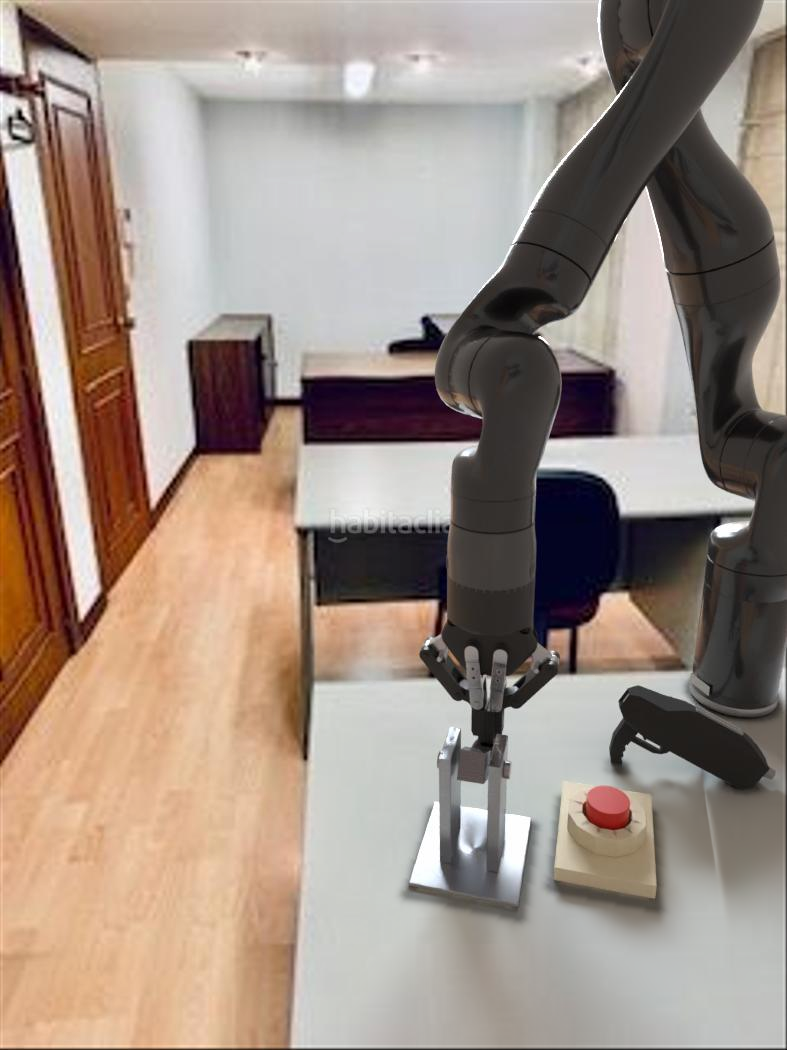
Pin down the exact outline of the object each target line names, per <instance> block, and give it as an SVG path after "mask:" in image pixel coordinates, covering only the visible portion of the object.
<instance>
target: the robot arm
mask: <svg viewBox="0 0 787 1050" xmlns="http://www.w3.org/2000/svg"><path fill="white" fill-rule="evenodd" d="M764 3H765V0H599V3H598V11H597V12H598V14H597V15H598V17H597V23H598V35H599V42H600V46H601V51H602V54H603V59H604V62H605V65H606V70H607V72H608V75H609V78H610V82H611V84H612V87H613V90H614V93H615V96H616V97H615V99H614V100H613V102H612V103H611V104H610V106H609V107H608V108H607V109H606V110H605V111H604V112H603V113H602V115H601V117H599V119H598V120H597V121H596V122H595V123H594V124H593V125H592V127H591V128H590V129H589V130H588V131H587V132H586V133H585V134H584V135H583V137H582V138H581V139H580V140H579V141H578V142H577V143H576V145H574V146H573V147H572V149H571V150H570V151H569V152H568V153H567V155H566V156H564V158H563V159H562V160H561V162H559V164H558V165H557V166H556V168H555V169H554V170H553V172H551V174H550V176H549V177H548V178H547V179H546V181H545V183H544V184H543V185H542V187H541V189H540V190H539V192H538V193H537V194H536V197H535V198H534V200H533V202H532V203H531V205H530V206H529V209H528V211H527V213H526V214H525V217H524V219H523V221H522V223H521V224H520V227H519V229H518V231H517V232H516V235H515V236H514V239H513V241H512V242H511V245H510V246H509V249H508V251H507V253H506V255H505V257H504V259H503V261H502V263H501V265H500V267H499V268H498V269H497V270H496V271H495V273H494V274H493V275H492V276H491V277H490V278H489V279H488V280H487V281H486V282H485V283H484V285H483V286H482V287H481V288H480V289H479V291H478V292H477V293H476V294H475V295H474V297H473V298H472V299H471V301H470V302H469V303H468V304H467V306H466V307H465V308H464V309H463V310H462V312H461V313H460V315H459V316H458V317H456V319H455V321H454V322H453V324H452V325H451V327H450V328H449V330H448V332H447V333H446V335H445V337H444V338H443V340H442V343H441V345H440V347H439V349H438V353H437V356H436V360H435V365H434V383H435V388H436V391H437V394H438V396H439V398H440V400H441V401H442V402H443V403H444V404H445V405H446V406H447V407H449V408H450V409H451V410H454V411H456V412H459V413H461V414H463V415H466V416H467V415H468V416H471V417H474V418H477V419H481V420H482V426H481V432H480V437H479V441H478V444H477V445H472V446H468V447H466V448H463V449H462V450H461V451H459V452H458V453H457V454H456V456H455V457H454V458H453V460H452V463H451V469H450V480H449V481H450V489H449V490H450V495H449V496H450V497H449V498H450V499H449V500H450V501H449V502H450V503H449V505H450V506H449V510H450V514H449V516H450V517H449V529H448V536H447V544H446V556H445V568H446V621H445V623H444V625H443V628H442V630H441V633H440V634H439V635H437V636H435V637H434V636H429V637H427V638H426V639H425V640H424V642H423V644H422V645H421V648H420V651H419V654H418V657H419V659H420V660H421V661H422V662H423V663H424V665H425V666H426V667H427V669H428V670H429V671H430V672H431V673H432V676H434V677H435V678H436V680H437V682H438V683H439V684H440V685H441V686H442V687H443V689H444V690H445V691H446V692H447V694H448V695H449V696H450V697H451V699H452V700H453V701H455V702H461V701H464V702H466V703H468V705H469V706H470V708H471V720H470V724H471V725H470V727H471V728H470V731H471V733H472V736H475V737H477V739H478V742H482V743H488V744H494V741H495V738H496V734H501V735H503V732H504V727H505V709H508V708H512V709H514V710H518V709H520V708H522V707H523V706H524V705H525V704H526V703H527V702H528V701H530V699H532V698H533V697H534V696H535V695H536V694H537V693H539V692H540V690H541V689H543V688H544V687H545V686H546V685H547V684H548V683H549V682H550V681H552V680H553V679H554V678H555V677H556V676H557V675H558V673H559V668H560V662H561V655H560V653H559V652H558V651H556V650H547V649H546V648H545V647H544V646H543V645H541V643H539V634H538V632H537V630H536V629H535V625H534V613H535V611H534V610H535V594H536V593H535V591H536V590H535V589H536V570H537V536H536V521H535V519H536V503H537V502H536V501H537V475H538V471H539V467H540V465H541V462H542V461H543V457H544V455H545V452H546V448H547V445H548V441H549V438H550V434H551V431H552V429H553V425H554V423H555V419H556V415H557V412H558V409H559V406H560V403H561V395H562V385H563V382H562V372H561V368H560V367H561V366H560V362H559V360H558V357H557V355H556V352H555V351H554V349H553V347H552V346H551V345H550V344H549V343H548V342H547V341H546V340H545V339H544V338H543V337H541V336H539V335H536V333H537V332H538V331H539V330H540V329H541V328H543V327H544V326H546V325H548V324H551V323H554V322H560V321H563V320H566V319H568V318H570V317H572V316H573V315H574V314H575V313H577V312H578V310H579V309H580V307H582V304H583V303H584V301H585V299H586V298H587V296H588V295H589V292H590V290H591V288H592V287H593V284H594V282H595V280H596V278H597V277H598V275H599V273H600V270H601V269H602V267H603V265H604V263H605V261H606V259H607V257H608V255H609V254H610V251H611V249H612V247H613V245H614V244H615V241H616V239H617V237H618V235H619V233H620V232H621V229H622V228H623V227H624V224H625V222H626V220H627V219H628V217H629V215H630V214H631V212H632V210H633V208H634V207H635V205H636V204H637V202H638V200H639V198H640V197H641V195H642V193H643V192H644V190H645V189H646V192H647V195H648V199H649V202H650V206H651V210H652V214H653V218H654V222H655V225H656V230H657V233H658V238H659V244H660V249H661V254H662V260H663V265H664V268H665V273H666V277H667V281H668V284H669V291H670V294H671V299H672V301H673V302H672V303H673V305H674V306H673V307H674V309H675V313H676V316H677V319H678V323H679V327H680V332H681V337H682V341H683V347H684V351H685V356H686V361H687V367H688V372H689V376H690V380H691V386H692V393H693V394H692V395H693V400H694V410H695V419H696V428H697V429H696V430H697V435H698V436H697V437H698V446H699V452H700V458H701V463H702V466H703V470H704V472H705V474H706V476H707V478H708V479H709V481H710V482H711V483H712V484H713V485H714V486H715V487H717V488H719V489H720V490H722V491H724V492H727V493H729V494H732V495H735V496H737V497H741V498H743V499H744V498H745V499H747V500H750V501H753V502H754V505H753V509H752V513H751V516H750V520H743V521H742V520H741V521H734V522H727V523H724V524H720V525H719V526H716V527H715V528H714V529H713V530H712V531H711V533H710V536H709V539H708V545H707V554H706V562H705V563H706V564H705V570H704V571H705V572H704V579H703V586H702V587H703V588H702V595H701V602H700V610H699V616H698V617H699V619H698V626H697V633H696V640H695V641H696V642H695V649H694V656H693V664H692V670H691V671H692V672H690V677H689V692H690V694H691V695H692V697H693V698H694V699H695V700H696V701H698V702H699V703H700V704H701V705H703V706H705V707H706V708H708V709H711V710H712V711H714V712H717V713H720V714H724V715H728V716H732V717H737V718H759V717H763V716H767V715H769V714H770V713H772V712H773V711H775V710H776V708H777V706H778V703H779V701H778V700H779V690H780V685H781V678H782V673H783V669H784V662H785V657H786V650H787V414H783V413H778V412H774V411H773V412H772V411H768V410H764V409H763V408H762V407H761V405H760V403H759V400H758V396H757V393H756V388H755V383H754V382H755V381H754V375H753V361H754V356H755V353H756V350H757V348H758V346H759V344H760V342H761V340H762V338H763V336H764V334H765V332H766V330H767V328H768V326H769V324H770V322H771V321H772V317H773V315H774V313H775V310H776V308H777V305H778V302H779V299H780V296H781V288H782V287H781V285H782V279H781V270H780V262H779V256H778V250H777V249H778V248H777V242H776V237H775V232H774V226H773V221H772V218H771V215H770V212H769V210H768V208H767V205H766V204H765V203H764V200H763V199H762V198H761V196H760V194H759V193H758V191H757V190H756V189H755V187H754V186H753V184H751V182H750V181H749V179H748V178H747V177H746V176H745V175H744V174H743V171H741V170H740V168H739V167H738V166H737V165H736V164H735V163H734V161H733V160H732V159H731V158H730V157H729V156H728V154H727V153H726V152H725V151H724V149H723V148H722V147H721V146H720V144H719V143H718V142H717V140H716V139H715V137H714V135H713V134H712V132H711V130H710V128H709V126H708V124H707V122H706V119H705V117H704V114H703V111H702V106H703V105H704V104H705V102H706V101H707V99H708V98H709V96H710V95H711V94H712V92H713V91H714V89H715V88H716V87H717V85H718V84H719V83H720V81H721V80H722V79H723V77H724V76H725V74H726V73H727V72H728V70H729V69H730V68H731V66H732V65H733V63H734V62H735V61H736V59H737V58H738V56H739V55H740V53H741V52H742V50H743V48H744V47H745V46H746V44H747V43H748V41H749V39H750V37H751V35H752V34H753V31H754V30H755V27H756V25H757V23H758V21H759V19H760V16H761V13H762V11H763V6H764ZM450 653H451V654H452V655H453V657H454V658H455V660H456V661H457V662H458V663H459V665H460V667H461V668H462V669H464V670H465V671H466V675H465V674H464V672H463V671H462V670H461V669H460V667H459V666H458V665H457V664H456V662H455V661H454V660H453V658H452V657H451V656H450V655H449V654H450ZM530 657H532V658H531V660H530V666H529V668H530V669H528V670H527V671H526V672H525V673H524V674H523V675H522V676H521V677H520V678H519V679H518V680H516V681H515V683H513V684H512V686H507V684H508V678H509V676H511V675H513V674H515V672H517V670H518V669H519V668H520V667H522V665H524V664H525V662H526V661H527V660H528V659H530ZM488 676H489V677H490V686H489V697H488V678H487V677H488Z"/></svg>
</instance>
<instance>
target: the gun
mask: <svg viewBox="0 0 787 1050" xmlns="http://www.w3.org/2000/svg"><path fill="white" fill-rule="evenodd" d="M618 707H619V711H620V714H621V715H622V719H621V720H620V722H618V725H617V726H616V727H615V729H614V731H613V732H612V735H611V738H610V743H609V746H608V748H609V750H608V751H609V759H610V764H618V765H622V764H623V760H622V759H623V758H624V752H626V750H627V749H626V748H627V747H626V746H629V744H631V743H633V744H634V745H637V746H638V747H641V748H642V749H644V750H646V751H648V752H650V753H652V754H655V755H656V754H657V755H664V754H665V755H666V754H668V753H672V754H674V755H675V756H677V757H679V758H681V759H683V760H685V761H686V762H688V763H690V764H692V765H694V766H696V767H698V768H700V769H701V770H703V771H705V772H707V773H709V774H711V775H713V776H715V778H719V779H720V780H722V781H724V782H725V783H728V784H729V785H731V786H733V787H734V788H737V789H739V790H740V791H741V790H749V789H753V788H754V787H755V786H756V785H757V784H758V783H759V782H760V780H761V779H762V778H764V779H768V780H773V779H775V777H776V775H777V772H776V770H775V769H774V768H773V767H772V766H770V765H769V764H768V761H767V757H765V756H766V755H765V754H764V753H763V752H762V750H761V749H760V747H759V745H758V744H757V743H756V741H754V740H753V738H752V737H750V735H748V733H746V732H744V731H743V729H742V728H740V727H738V726H736V725H735V724H733V723H731V722H729V721H727V720H726V719H724V718H721V717H720V716H718V715H716V714H714V713H712V712H710V711H708V710H707V709H705V708H703V707H701V706H699V705H694V704H692V703H690V702H688V701H686V700H683V699H679V698H676V697H674V696H669V695H666V694H663V693H660V692H658V691H655V690H653V689H649V688H647V687H644V686H641V685H639V684H638V685H634V686H631V687H627V688H626V690H625V691H624V693H623V694H622V695H621V697H620V698H619V699H618ZM638 734H639V735H640V736H641V737H642V738H640V737H638V736H637V735H638ZM648 741H649V742H651V743H653V744H651V743H649V742H648ZM654 744H655V745H656V746H655V745H654ZM658 746H659V747H658Z"/></svg>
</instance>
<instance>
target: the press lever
mask: <svg viewBox="0 0 787 1050" xmlns="http://www.w3.org/2000/svg"><path fill="white" fill-rule="evenodd" d="M494 742H495V741H494ZM493 746H494V744H488V743H482V742H478V738H476V740H475V741H474V742H473V743H472V745H471V746H464V747H461V749H460V752H459V762H458V772H457V780H460V781H461V782H466V783H473V784H479V785H484V784H485V783H486V782H488V766H489V762H490V758H491V754H492V750H493Z"/></svg>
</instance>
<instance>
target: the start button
mask: <svg viewBox="0 0 787 1050" xmlns="http://www.w3.org/2000/svg"><path fill="white" fill-rule="evenodd" d="M596 786H597V787H594V788H592V789H591V790H590V791H589V792H588V794H587V799H586V817H587V819H588V820H589V821H590V822H591V823H592V824H594V825H595V826H597V827H599V828H603V829H609V830H618V829H622V828H623V827H625V826H626V825H627V823H628V820H629V810H630V800H629V798H628V796H627V795H626V794H625V793H624V792H622V791H621V790H622V789H620V788H617V787H614V786H612V785H611V786H610V785H596Z"/></svg>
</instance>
